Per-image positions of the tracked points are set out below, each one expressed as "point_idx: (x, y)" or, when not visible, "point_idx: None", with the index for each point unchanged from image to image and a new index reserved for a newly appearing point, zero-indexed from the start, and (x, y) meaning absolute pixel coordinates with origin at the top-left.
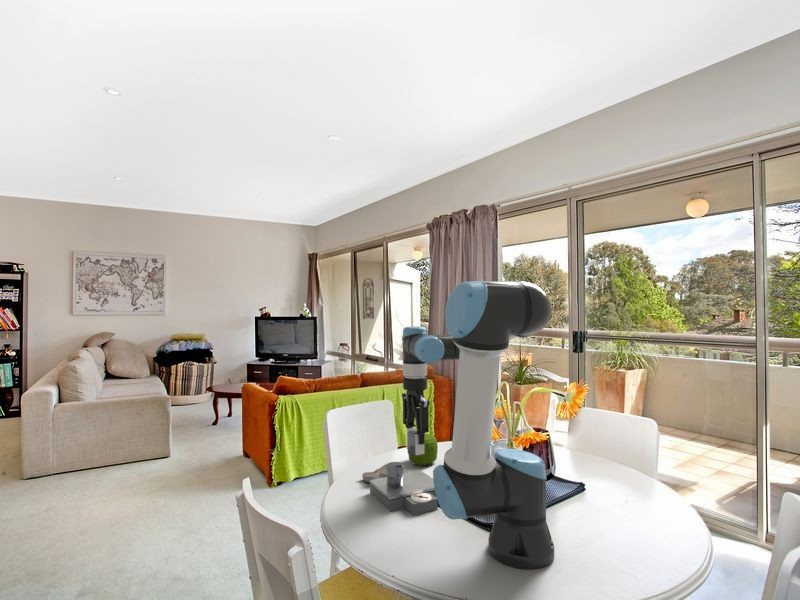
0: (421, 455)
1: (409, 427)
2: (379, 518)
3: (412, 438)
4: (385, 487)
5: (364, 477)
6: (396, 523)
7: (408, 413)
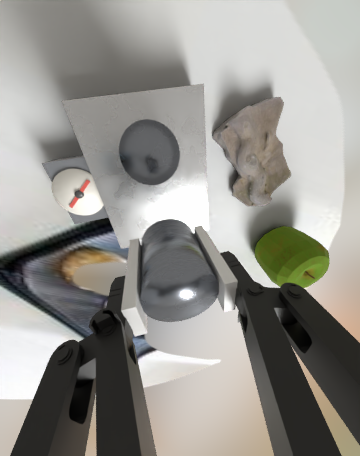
0: (268, 248)
1: (237, 295)
2: (34, 60)
3: (148, 271)
4: (137, 116)
5: (265, 100)
6: (4, 101)
7: (289, 423)
